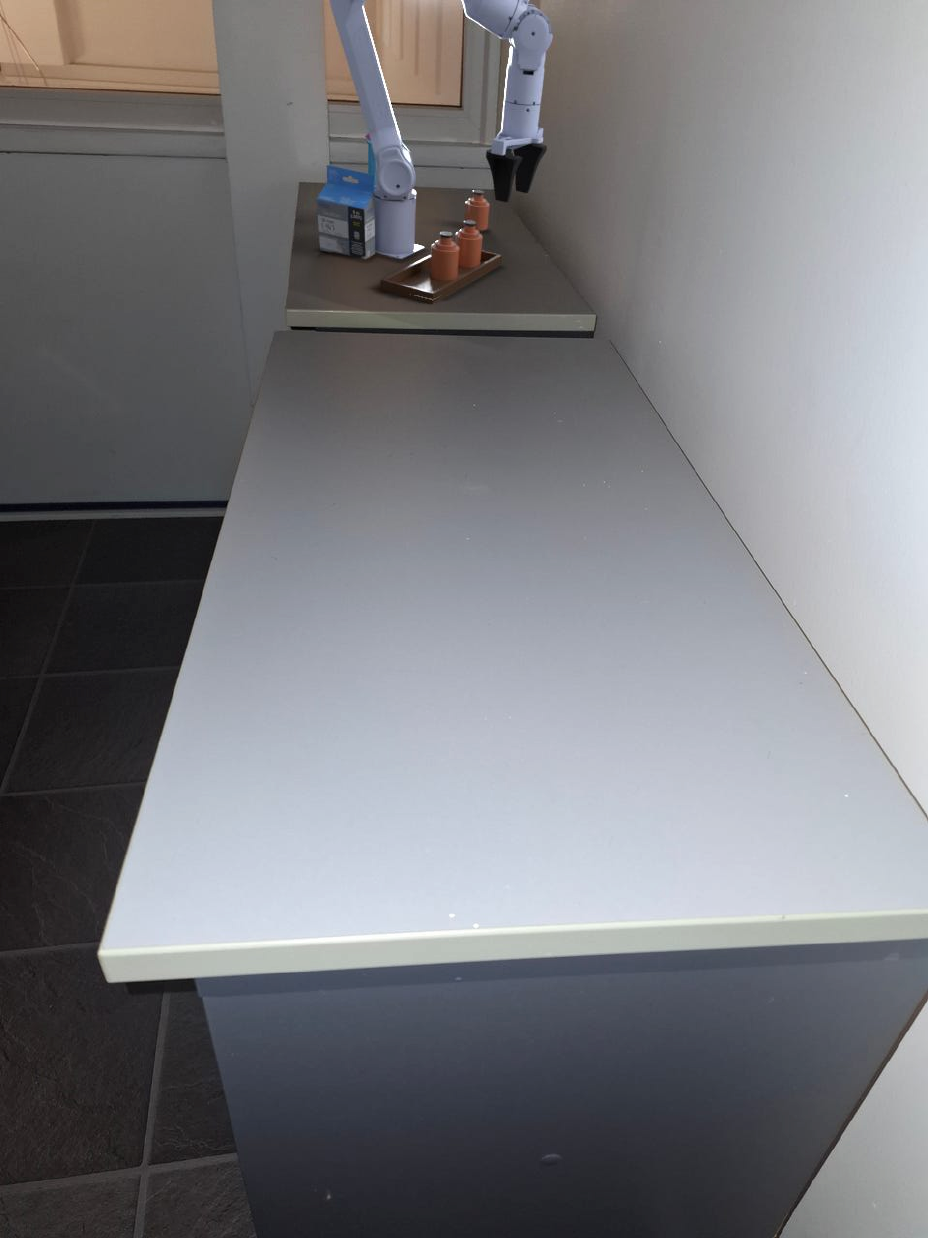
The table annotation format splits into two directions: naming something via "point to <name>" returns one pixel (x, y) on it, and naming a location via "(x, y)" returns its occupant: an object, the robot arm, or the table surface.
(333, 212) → the ink cartridge box
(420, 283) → the tray
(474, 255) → the bottle back
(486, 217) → the loose bottle
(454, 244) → the bottle middle
